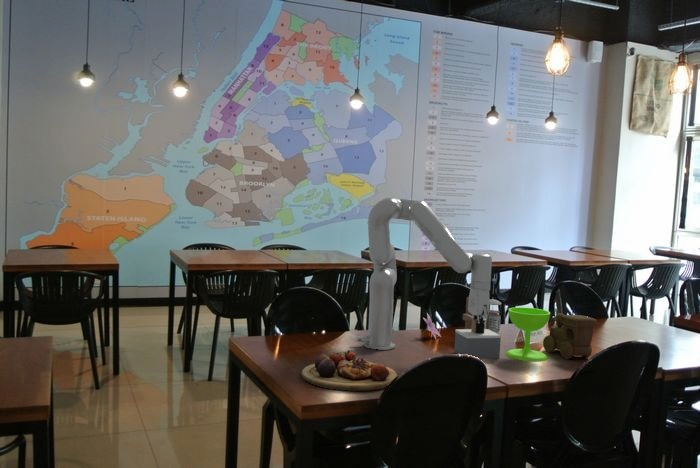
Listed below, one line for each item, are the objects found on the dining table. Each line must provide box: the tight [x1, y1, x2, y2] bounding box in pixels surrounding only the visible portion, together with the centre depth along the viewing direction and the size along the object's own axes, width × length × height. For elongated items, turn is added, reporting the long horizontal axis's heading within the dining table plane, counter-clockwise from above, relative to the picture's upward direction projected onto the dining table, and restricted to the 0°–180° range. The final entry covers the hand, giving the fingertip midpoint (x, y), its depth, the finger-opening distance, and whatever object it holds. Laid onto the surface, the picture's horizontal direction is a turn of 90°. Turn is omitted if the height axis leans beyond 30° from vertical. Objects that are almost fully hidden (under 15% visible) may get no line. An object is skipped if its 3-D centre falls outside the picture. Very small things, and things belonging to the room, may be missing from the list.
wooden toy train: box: [542, 312, 598, 360], centre depth 254 cm, size 20×11×17 cm, turn 21°
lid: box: [455, 319, 502, 338], centre depth 247 cm, size 14×11×7 cm
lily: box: [420, 312, 442, 340], centre depth 276 cm, size 12×12×10 cm
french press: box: [488, 278, 502, 335], centre depth 292 cm, size 10×12×25 cm
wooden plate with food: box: [300, 350, 398, 392], centre depth 210 cm, size 32×32×8 cm
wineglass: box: [505, 306, 551, 363], centre depth 249 cm, size 16×16×18 cm
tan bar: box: [462, 313, 472, 324], centre depth 264 cm, size 2×16×2 cm, turn 14°
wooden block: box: [464, 296, 491, 329], centre depth 279 cm, size 4×11×18 cm, turn 110°
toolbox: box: [454, 317, 501, 360], centre depth 249 cm, size 14×14×13 cm
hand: (477, 331), depth 247 cm, fingers closed on lid, 3 cm apart
